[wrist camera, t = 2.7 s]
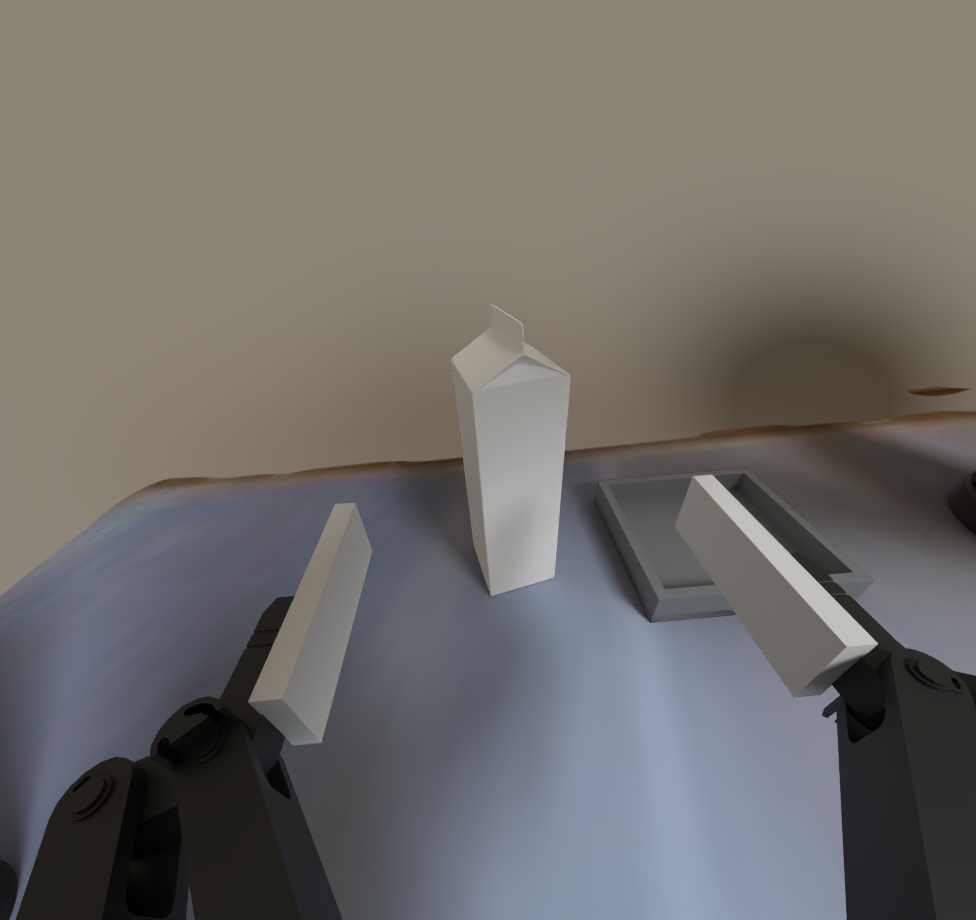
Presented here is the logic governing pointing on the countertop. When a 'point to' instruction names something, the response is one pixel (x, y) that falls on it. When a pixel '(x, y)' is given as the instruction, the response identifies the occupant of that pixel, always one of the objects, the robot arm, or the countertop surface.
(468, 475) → the milk
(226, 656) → the countertop surface
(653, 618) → the tray
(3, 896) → the travel mug
